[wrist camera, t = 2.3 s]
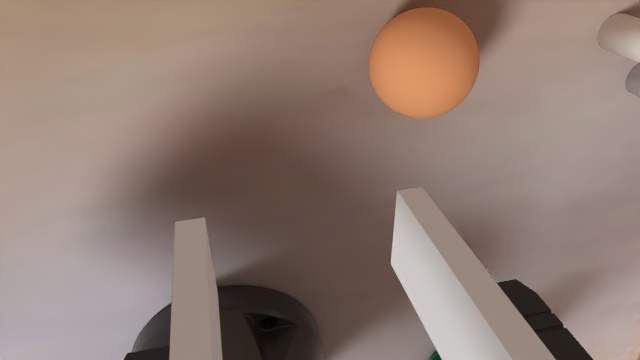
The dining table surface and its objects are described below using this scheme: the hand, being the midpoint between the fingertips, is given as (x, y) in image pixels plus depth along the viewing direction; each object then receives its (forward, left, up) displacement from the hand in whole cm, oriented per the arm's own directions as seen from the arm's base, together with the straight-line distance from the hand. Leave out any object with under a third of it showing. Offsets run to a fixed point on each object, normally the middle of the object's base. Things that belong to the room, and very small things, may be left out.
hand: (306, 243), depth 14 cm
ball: (-2, -9, -14) cm, 17 cm away
